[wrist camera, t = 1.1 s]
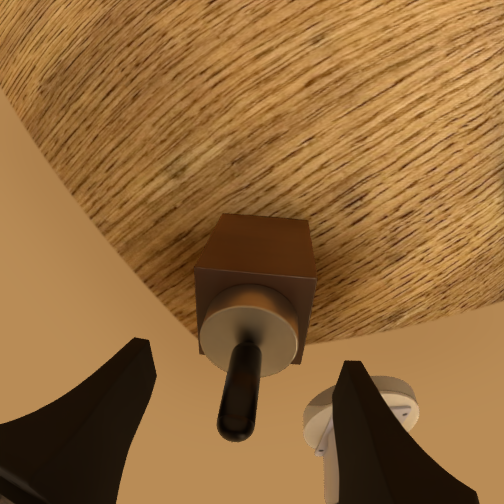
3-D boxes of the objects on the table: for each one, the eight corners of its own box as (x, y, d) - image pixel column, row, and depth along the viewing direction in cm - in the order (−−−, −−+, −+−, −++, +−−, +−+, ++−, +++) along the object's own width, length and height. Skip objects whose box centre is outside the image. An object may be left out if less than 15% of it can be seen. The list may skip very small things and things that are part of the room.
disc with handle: (291, 357, 15) (289, 469, 9) (208, 348, 15) (177, 455, 9) (304, 287, 13) (310, 410, 7) (205, 278, 13) (159, 391, 8)
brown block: (298, 292, 21) (300, 364, 15) (221, 285, 21) (199, 354, 15) (307, 220, 18) (317, 277, 13) (222, 213, 19) (193, 266, 13)
